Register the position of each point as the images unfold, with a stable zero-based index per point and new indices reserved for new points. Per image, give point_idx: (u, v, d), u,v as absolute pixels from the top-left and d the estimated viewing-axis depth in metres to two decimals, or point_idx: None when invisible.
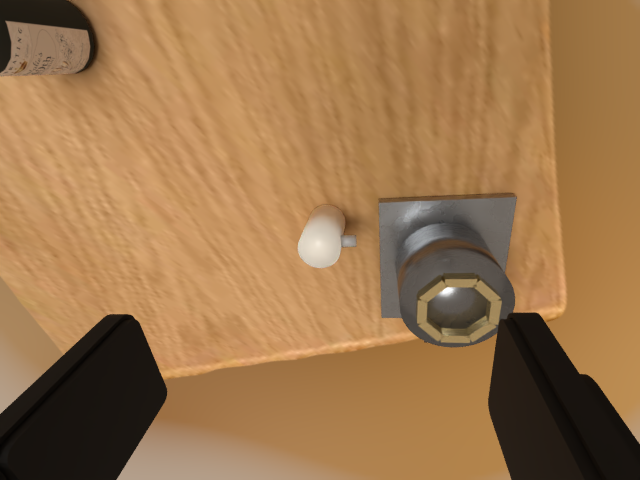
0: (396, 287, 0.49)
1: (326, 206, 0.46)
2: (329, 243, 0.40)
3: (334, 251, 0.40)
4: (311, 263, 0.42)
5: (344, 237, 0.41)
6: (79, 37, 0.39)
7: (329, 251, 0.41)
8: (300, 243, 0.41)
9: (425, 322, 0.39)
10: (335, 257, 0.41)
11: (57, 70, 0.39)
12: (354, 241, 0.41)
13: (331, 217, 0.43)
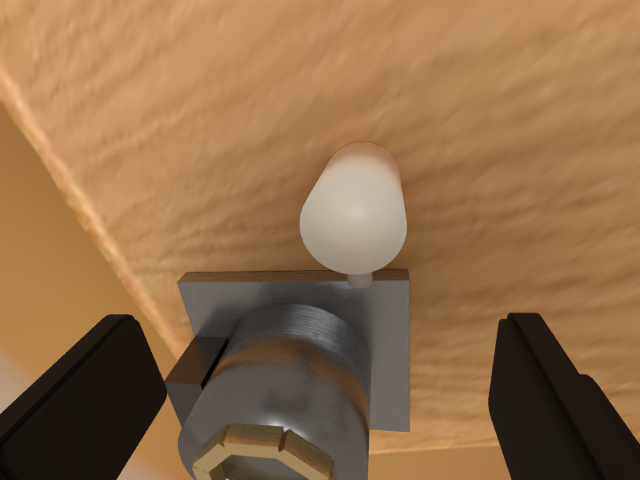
0: (245, 304, 0.28)
1: None
2: (369, 252, 0.17)
3: (348, 262, 0.17)
4: (310, 208, 0.16)
5: None
6: None
7: (346, 250, 0.17)
8: (367, 184, 0.15)
9: (229, 453, 0.19)
10: (332, 263, 0.17)
11: None
12: (362, 286, 0.19)
13: None
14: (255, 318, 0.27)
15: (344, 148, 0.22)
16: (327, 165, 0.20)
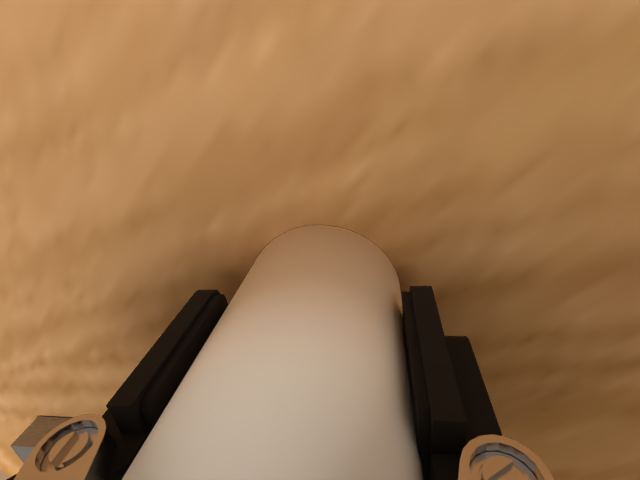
0: None
1: None
2: None
3: None
4: None
5: None
6: None
7: None
8: None
9: None
10: None
11: None
12: None
13: None
14: None
15: (280, 245, 0.10)
16: (232, 301, 0.09)
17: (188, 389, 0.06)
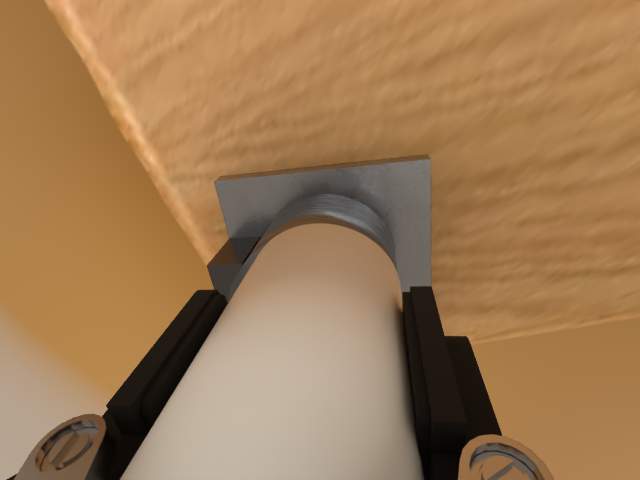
0: (277, 199, 0.30)
1: None
2: None
3: None
4: None
5: None
6: None
7: None
8: None
9: None
10: None
11: None
12: None
13: None
14: (288, 207, 0.29)
15: (280, 244, 0.10)
16: (232, 299, 0.09)
17: (188, 386, 0.06)
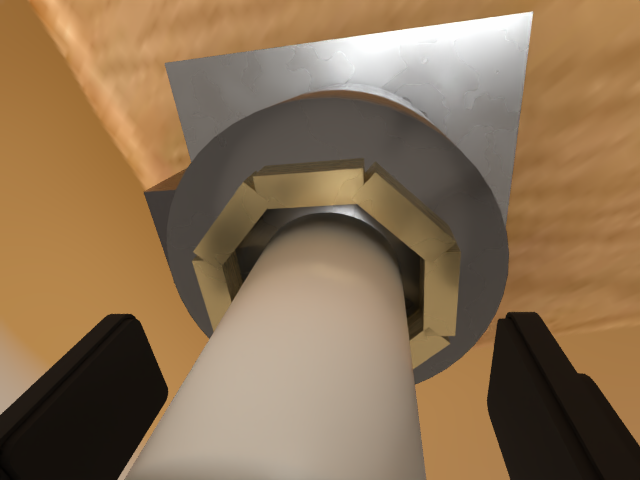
0: (267, 95, 0.19)
1: None
2: None
3: None
4: None
5: None
6: None
7: None
8: (301, 479, 0.04)
9: (263, 206, 0.10)
10: None
11: None
12: None
13: None
14: None
15: (290, 230, 0.11)
16: (247, 279, 0.09)
17: (213, 348, 0.07)
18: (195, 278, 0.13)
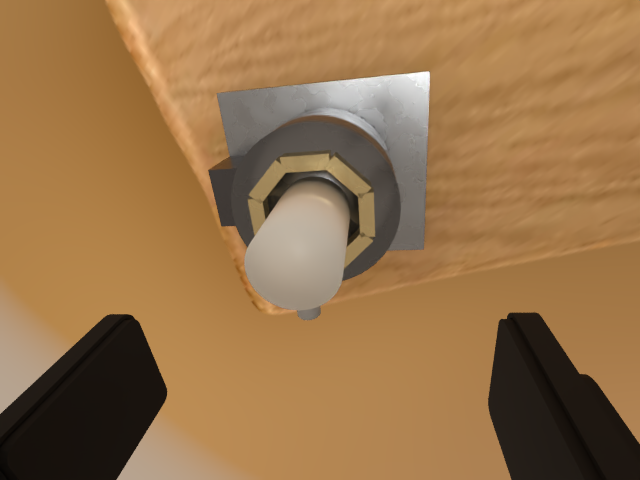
0: (279, 113, 0.31)
1: None
2: (310, 291, 0.18)
3: (292, 299, 0.18)
4: (253, 252, 0.17)
5: None
6: None
7: (290, 289, 0.18)
8: (303, 231, 0.16)
9: (284, 171, 0.22)
10: (277, 300, 0.18)
11: None
12: (310, 317, 0.20)
13: None
14: None
15: (295, 183, 0.23)
16: (277, 202, 0.21)
17: (271, 215, 0.19)
18: (244, 213, 0.25)
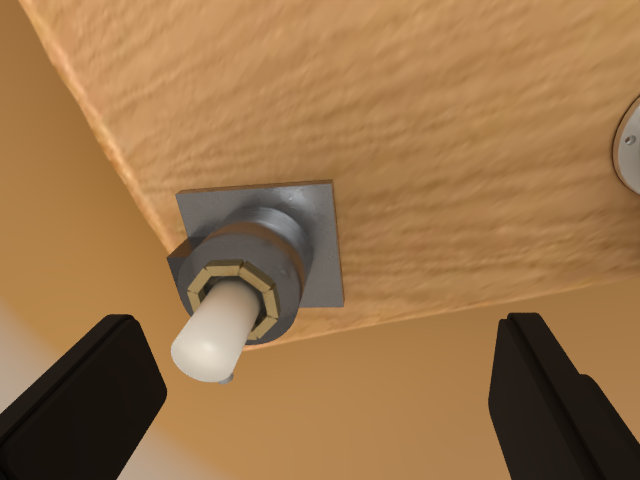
0: (223, 209, 0.40)
1: (260, 302, 0.33)
2: (215, 371, 0.27)
3: (204, 375, 0.28)
4: (175, 347, 0.27)
5: None
6: None
7: (202, 369, 0.27)
8: (205, 337, 0.26)
9: (209, 275, 0.32)
10: (195, 376, 0.28)
11: None
12: (224, 382, 0.30)
13: None
14: (229, 215, 0.39)
15: (219, 282, 0.32)
16: (203, 300, 0.31)
17: (191, 318, 0.28)
18: (188, 296, 0.35)
